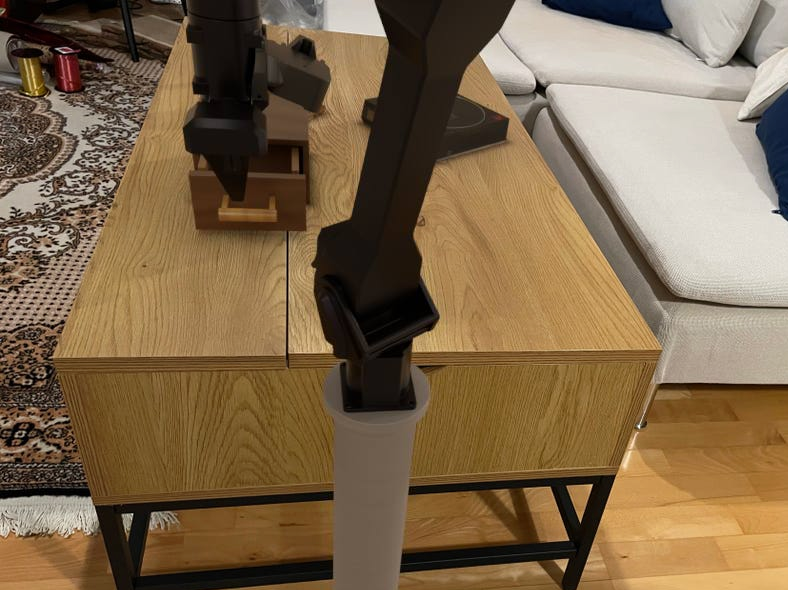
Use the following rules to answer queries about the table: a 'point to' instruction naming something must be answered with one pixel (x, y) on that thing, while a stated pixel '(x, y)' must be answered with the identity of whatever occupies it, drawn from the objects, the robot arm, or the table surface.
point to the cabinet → (285, 132)
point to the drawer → (253, 195)
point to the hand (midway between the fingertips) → (239, 186)
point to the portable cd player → (461, 127)
